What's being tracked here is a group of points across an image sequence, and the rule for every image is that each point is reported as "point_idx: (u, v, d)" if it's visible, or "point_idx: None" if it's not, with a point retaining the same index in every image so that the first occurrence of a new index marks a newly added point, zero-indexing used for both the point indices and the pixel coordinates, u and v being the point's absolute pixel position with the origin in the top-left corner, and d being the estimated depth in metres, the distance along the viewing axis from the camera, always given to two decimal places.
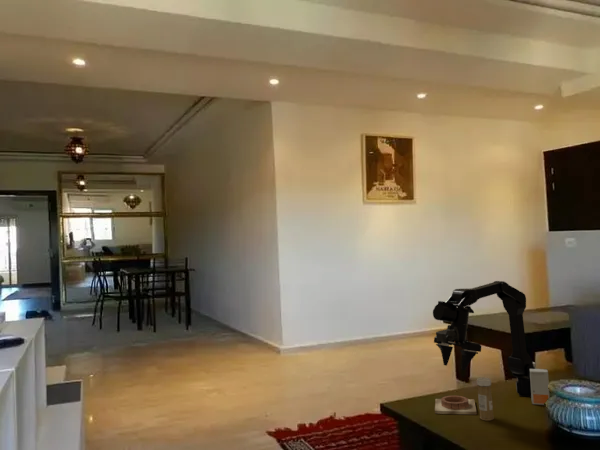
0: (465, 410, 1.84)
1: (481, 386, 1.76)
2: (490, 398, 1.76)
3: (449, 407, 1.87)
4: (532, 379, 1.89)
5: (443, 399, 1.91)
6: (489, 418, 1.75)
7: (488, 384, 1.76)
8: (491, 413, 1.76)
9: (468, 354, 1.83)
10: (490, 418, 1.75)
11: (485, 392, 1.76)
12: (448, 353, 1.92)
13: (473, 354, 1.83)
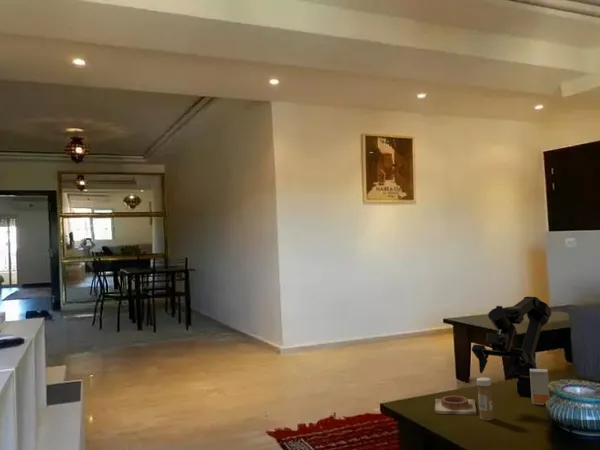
0: (465, 410, 1.84)
1: (481, 386, 1.76)
2: (490, 398, 1.76)
3: (449, 407, 1.87)
4: (532, 379, 1.89)
5: (443, 399, 1.91)
6: (489, 418, 1.75)
7: (488, 384, 1.76)
8: (491, 413, 1.76)
9: (514, 363, 1.82)
10: (490, 418, 1.75)
11: (485, 392, 1.76)
12: (484, 363, 1.89)
13: (518, 365, 1.82)
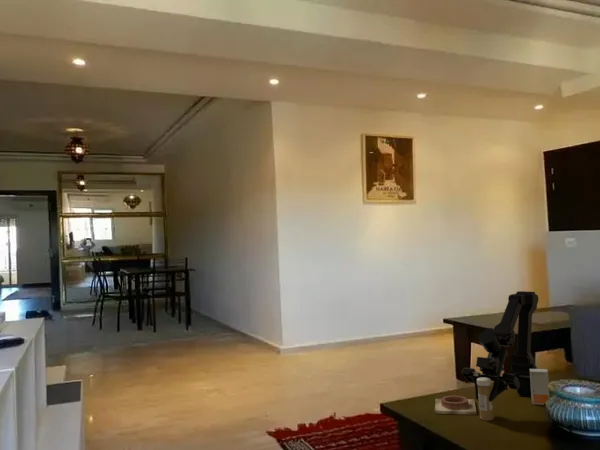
0: (465, 410, 1.84)
1: (481, 386, 1.76)
2: None
3: (449, 407, 1.87)
4: (532, 379, 1.89)
5: (443, 399, 1.91)
6: (489, 418, 1.75)
7: (488, 384, 1.76)
8: (491, 413, 1.76)
9: (498, 387, 1.77)
10: (490, 418, 1.75)
11: (485, 392, 1.76)
12: None
13: (502, 390, 1.78)
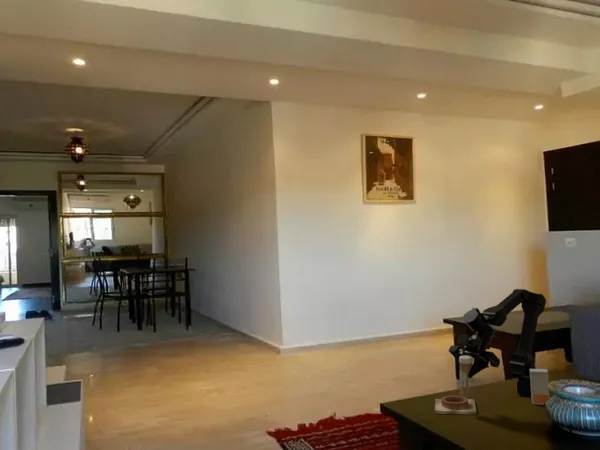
0: (465, 410, 1.84)
1: (462, 363, 1.83)
2: None
3: (449, 407, 1.87)
4: (532, 379, 1.89)
5: (443, 399, 1.91)
6: (467, 394, 1.82)
7: (469, 362, 1.82)
8: (470, 390, 1.82)
9: (479, 364, 1.83)
10: (468, 394, 1.82)
11: (465, 370, 1.82)
12: None
13: (483, 367, 1.83)
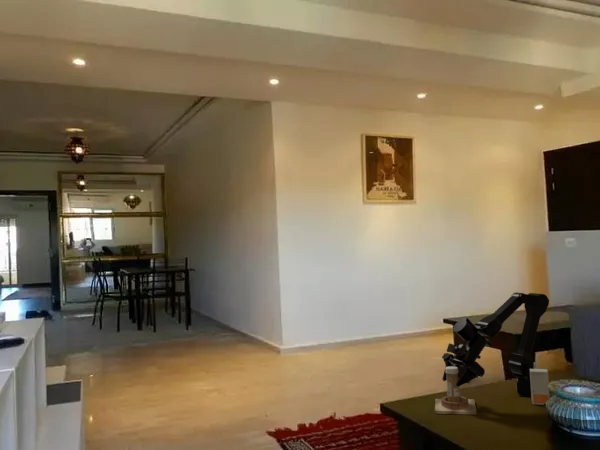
0: (465, 410, 1.84)
1: (447, 373, 1.91)
2: (455, 386, 1.89)
3: (449, 407, 1.87)
4: (532, 379, 1.89)
5: (443, 399, 1.91)
6: None
7: (453, 372, 1.89)
8: (456, 399, 1.89)
9: (468, 374, 1.87)
10: None
11: (450, 380, 1.90)
12: None
13: (473, 377, 1.87)
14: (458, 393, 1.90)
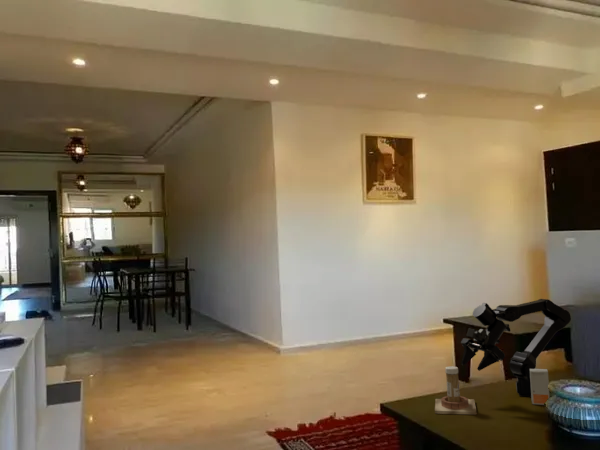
0: (465, 410, 1.84)
1: (447, 373, 1.91)
2: (455, 386, 1.89)
3: (449, 407, 1.87)
4: (532, 379, 1.89)
5: (443, 399, 1.91)
6: None
7: (453, 372, 1.89)
8: (456, 399, 1.89)
9: (489, 358, 1.90)
10: None
11: (450, 380, 1.90)
12: (469, 356, 2.00)
13: (494, 361, 1.89)
14: (458, 393, 1.90)
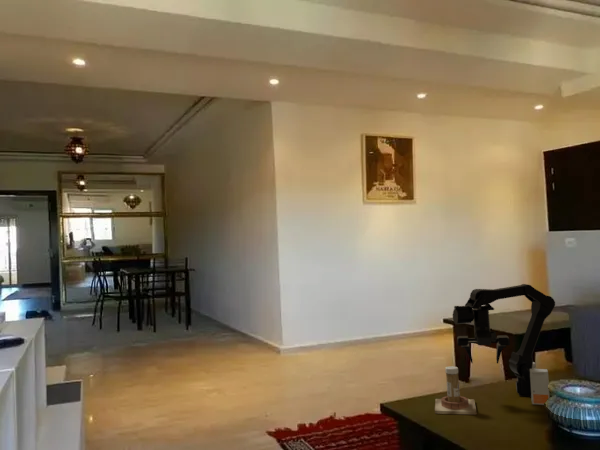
0: (465, 410, 1.84)
1: (447, 373, 1.91)
2: (455, 386, 1.89)
3: (449, 407, 1.87)
4: (532, 379, 1.89)
5: (443, 399, 1.91)
6: None
7: (453, 372, 1.89)
8: (456, 399, 1.89)
9: None
10: None
11: (450, 380, 1.90)
12: None
13: None
14: (458, 393, 1.90)
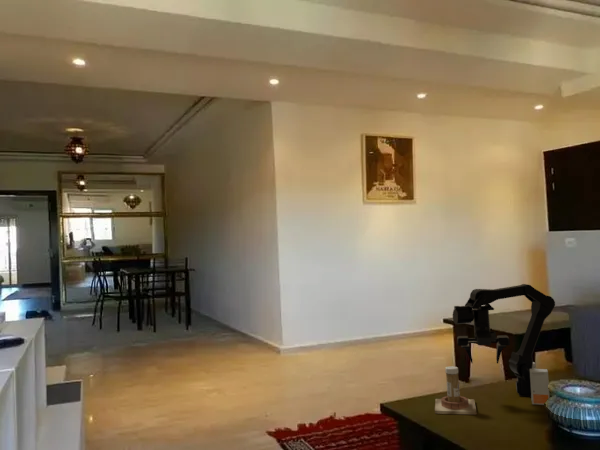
0: (465, 410, 1.84)
1: (447, 373, 1.91)
2: (455, 386, 1.89)
3: (449, 407, 1.87)
4: (532, 379, 1.89)
5: (443, 399, 1.91)
6: None
7: (453, 372, 1.89)
8: (456, 399, 1.89)
9: None
10: None
11: (450, 380, 1.90)
12: None
13: None
14: (458, 393, 1.90)
